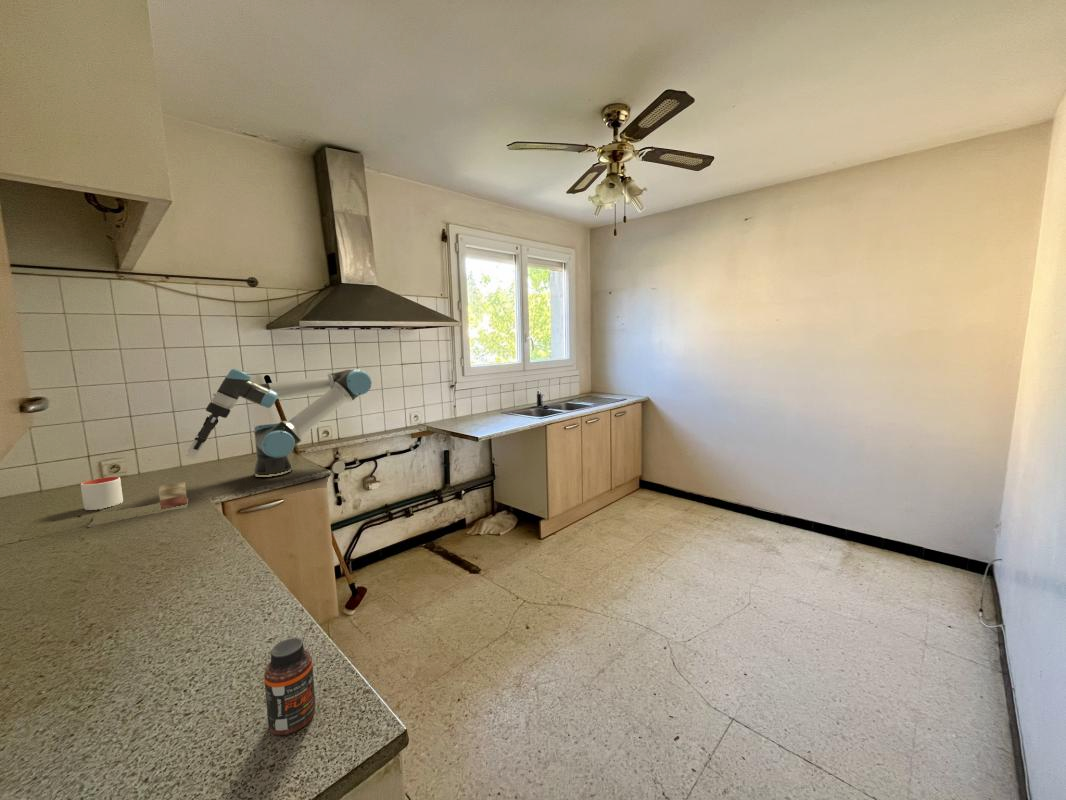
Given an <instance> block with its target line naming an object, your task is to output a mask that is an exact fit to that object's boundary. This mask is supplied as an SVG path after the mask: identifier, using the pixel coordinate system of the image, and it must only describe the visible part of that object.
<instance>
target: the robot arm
mask: <svg viewBox="0 0 1066 800" xmlns="http://www.w3.org/2000/svg"><path fill="white" fill-rule="evenodd" d="M370 389H372V378H371V376H370V375H369V374H368V373H367V372H366V371H364V370H362V369H346V370H342V371H337V372H332V373H328V374H327V375H325V376H316V377H309V378H301V379H293V380H292V379H291V380H285V381H284V380H283V381H277V382H276V381H275V382H268V383H261V384H259V383H256V382H255V381H252V375H250V374H248V373H246V372H244V371H242V370H239V369H236V368H231V369H230V371H229V372H228V373H227V375H226V376H225V377H224V379H223V381H222V382H221V384H220V386H219V388H218V389H217V391H216V392H215V393H213V394H212V396H213V397H212V399H211V402H209V403H208V404H207V406H206V408H205V411H206V412H208V413H210V414H209V416H206V418H205V419H204V420H205V421H203V425H202V427H201V428H200V430H199V431H198V433H197V435H196V436H195V438H194V439H193V441H192V443H191V444H190V446H189V447H188V450H187V454H186V455H185V457H187V458H191V459H193V460H194V459H195V458H196V457H197V455H198V453H199V452H200V450H201V449H202V447H203V445H204V444H205V442H206V441H207V439H208V437H209V435H210V434H211V432H212V430H214V428H215V427H216V426H217V425H218V423H219V417H221V418H224V419H226V418H228V417H229V415H230V413H231V409H233V408H234V407H235V405H236V404H237V402H238V400H239V398H243V399H245V400H248V401H250V402H252V403H254V404H257V405H259V406H261V407H265V408H266V409H269V408H271V407H273V406H274V404H275V403H276V402H277V399H285V398H292V397H300V396H306V395H314V394H319V393H320V394H321V393H324V394H322V395H321V396H320V397H318V398H317V399H316V400H314V401H313V402H312V403H310V404H309V405H307V406H306V407H305V408H304V409H302V410H301V411H300V412H298V413H297V414H295V416H293V417H292V418H291V419H289V420H282V421H280V422H279V423H278V422H277V423H271V424H270V423H269V424H262V425H259V424H258V425H255V427H254V430H253V432H254V439H255V452H256V462H255V465H254V469H253V475H254V474H258V475H269V474H277V473H281V472H285V471H288V470H290V469H293V465H292V463H291V461H290V459H289V457H288V455H289V454H291V453H292V452H293V451H294V448H295V446H297V445H298V444H299V443H300V442H302V440H303V436H304V435H305V434H307V432H310V430H311V429H313V428H315V426H317V425H318V424H319V423H321V422H322V421H323V420H324V419H325V418H327V417H329V415H331V414H332V413H333V412H334V411H336V410H337V409H338V408H340V407H341V406H342V405H344V404H345V403H346V402H353V401H355V399H357V398H358V397H359V396H362V395H365V394H367V393H368V392H369V391H370Z"/></svg>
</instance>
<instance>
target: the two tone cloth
mask: <svg viewBox="0 0 1066 800" xmlns="http://www.w3.org/2000/svg"><path fill="white" fill-rule="evenodd" d="M158 495H159V502H160V505H161V509H166V508H171V507H176V506H181V505H185V504H187V497H188V495H187V488H186V481H182V482H177V483H169V484H165V485H160V486H159V489H158Z"/></svg>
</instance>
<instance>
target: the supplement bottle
mask: <svg viewBox="0 0 1066 800" xmlns="http://www.w3.org/2000/svg"><path fill="white" fill-rule="evenodd" d="M313 667H314V666H313V659H312V655H311V653H310V652H309V651H308V650H307V649H305V647H304V641H303V639H302V638H300V637H291V638H290V637H289V638H285V639H284V640H282V641H279V642H278V643H276V644H275V645H274V646H273V647H272V648H271V650H270V661H269V663H268V664H267V665H266V666H265V669H264V674H263V675H264V676H263V677H264V689H265V703H266V713H267V716H266V717H267V723H268V729H269V731H270V732H271V733H272V734H273V735H276V736H287V735H290V734H293V733H295V732H297V731H300V730H301V729H303V727H305V726H306V725H307V724H308V723H309V722H310V721H311V719H312V718H313V717H314V715H315V712H316V694H315V679H314V668H313Z"/></svg>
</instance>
